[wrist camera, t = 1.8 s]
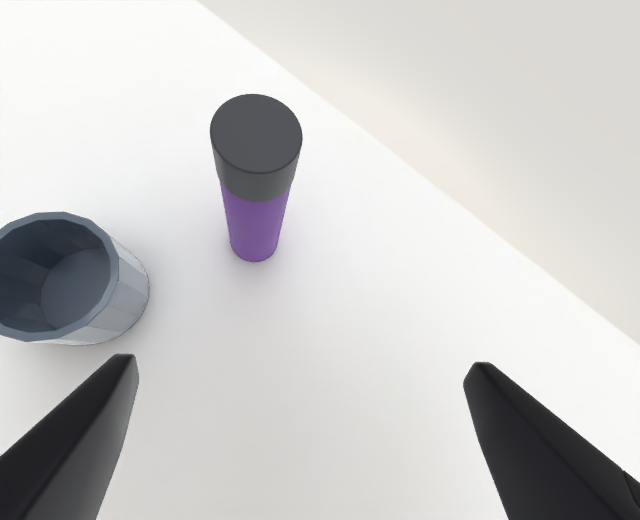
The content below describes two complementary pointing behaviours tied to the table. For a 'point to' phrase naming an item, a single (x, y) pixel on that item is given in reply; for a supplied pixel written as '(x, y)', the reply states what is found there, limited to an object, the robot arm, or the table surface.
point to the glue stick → (255, 169)
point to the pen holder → (67, 281)
